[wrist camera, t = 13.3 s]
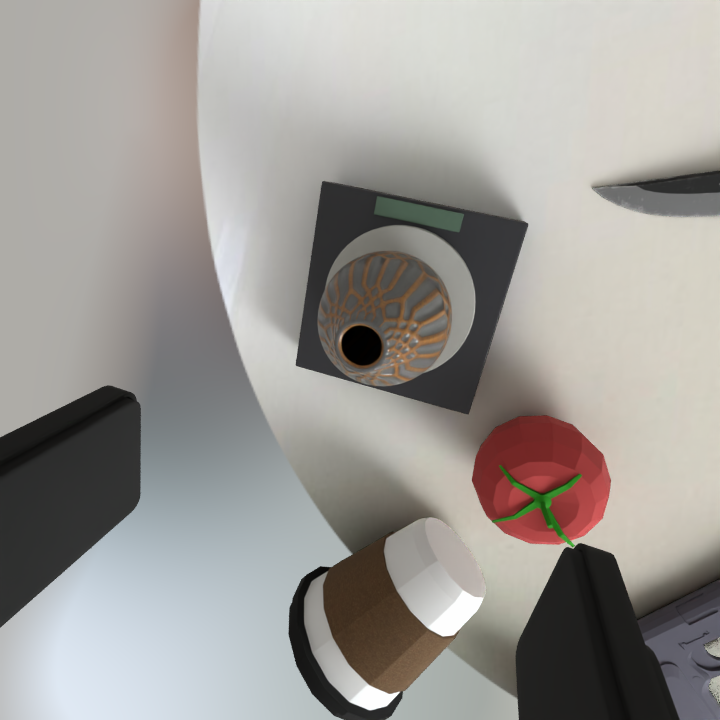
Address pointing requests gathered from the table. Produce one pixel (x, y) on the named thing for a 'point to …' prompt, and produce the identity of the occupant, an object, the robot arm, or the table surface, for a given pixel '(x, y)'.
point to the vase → (384, 318)
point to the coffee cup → (382, 617)
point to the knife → (669, 195)
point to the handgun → (687, 650)
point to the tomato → (541, 480)
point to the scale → (442, 253)
